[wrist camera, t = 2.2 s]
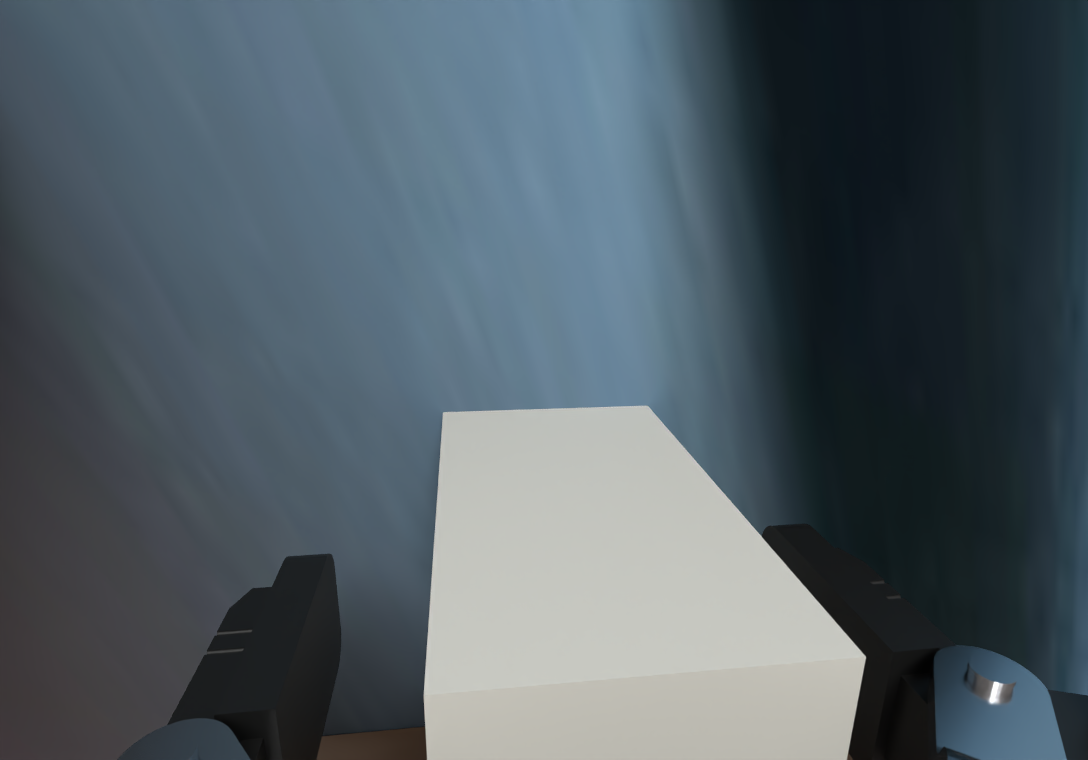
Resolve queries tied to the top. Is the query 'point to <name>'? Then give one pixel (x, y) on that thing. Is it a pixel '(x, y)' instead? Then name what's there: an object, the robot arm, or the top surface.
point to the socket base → (379, 745)
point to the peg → (616, 604)
